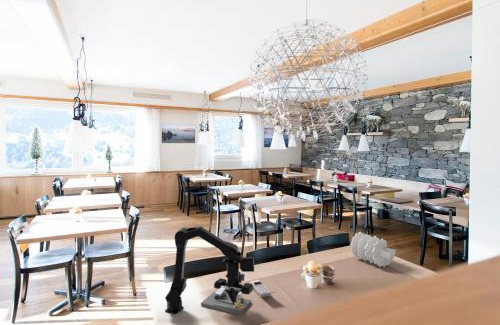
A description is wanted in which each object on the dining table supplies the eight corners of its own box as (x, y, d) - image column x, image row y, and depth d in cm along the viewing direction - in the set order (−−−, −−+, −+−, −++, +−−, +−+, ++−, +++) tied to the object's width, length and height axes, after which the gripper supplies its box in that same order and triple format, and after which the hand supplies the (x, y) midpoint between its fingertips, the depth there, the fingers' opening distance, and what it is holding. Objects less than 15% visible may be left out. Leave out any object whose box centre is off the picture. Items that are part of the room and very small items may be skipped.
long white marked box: (265, 293, 151) (248, 274, 174) (265, 305, 151) (248, 284, 174) (276, 291, 153) (257, 272, 176) (276, 303, 153) (257, 282, 177)
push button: (231, 298, 152) (231, 294, 152) (235, 294, 156) (235, 290, 156) (239, 300, 150) (239, 296, 150) (243, 296, 154) (243, 292, 154)
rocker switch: (215, 295, 156) (215, 293, 155) (220, 288, 160) (220, 287, 160) (220, 296, 154) (220, 294, 154) (225, 289, 159) (225, 288, 159)
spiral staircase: (382, 275, 190) (351, 261, 212) (399, 259, 197) (368, 246, 219) (374, 252, 185) (344, 239, 207) (392, 236, 191) (361, 225, 213)
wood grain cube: (234, 308, 146) (234, 302, 145) (237, 305, 148) (237, 299, 148) (238, 309, 145) (238, 302, 145) (240, 306, 147) (240, 300, 147)
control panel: (201, 305, 152) (200, 300, 152) (213, 294, 163) (213, 289, 162) (240, 315, 142) (240, 308, 142) (251, 302, 153) (251, 297, 153)
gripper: (257, 268, 150) (258, 299, 151) (224, 262, 158) (225, 292, 158) (247, 277, 140) (248, 310, 141) (212, 271, 148) (214, 302, 148)
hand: (234, 303), depth 147 cm, fingers closed
